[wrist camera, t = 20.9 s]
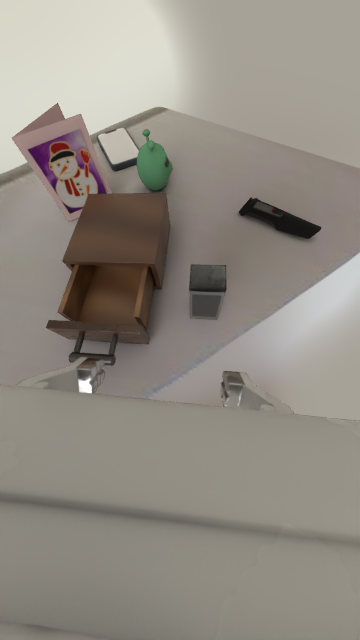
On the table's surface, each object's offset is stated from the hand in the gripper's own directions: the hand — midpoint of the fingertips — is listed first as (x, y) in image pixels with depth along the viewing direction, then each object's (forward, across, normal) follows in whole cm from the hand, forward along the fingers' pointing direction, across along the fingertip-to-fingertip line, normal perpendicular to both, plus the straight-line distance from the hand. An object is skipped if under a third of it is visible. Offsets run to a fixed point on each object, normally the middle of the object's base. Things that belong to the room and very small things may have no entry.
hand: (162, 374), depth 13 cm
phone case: (+51, +21, -37) cm, 66 cm away
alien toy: (+41, +8, -25) cm, 49 cm away
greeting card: (+38, +24, -20) cm, 49 cm away
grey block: (+21, -4, -1) cm, 21 cm away
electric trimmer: (+33, -18, -17) cm, 41 cm away
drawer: (+20, +11, +1) cm, 23 cm away
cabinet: (+28, +11, -9) cm, 32 cm away
